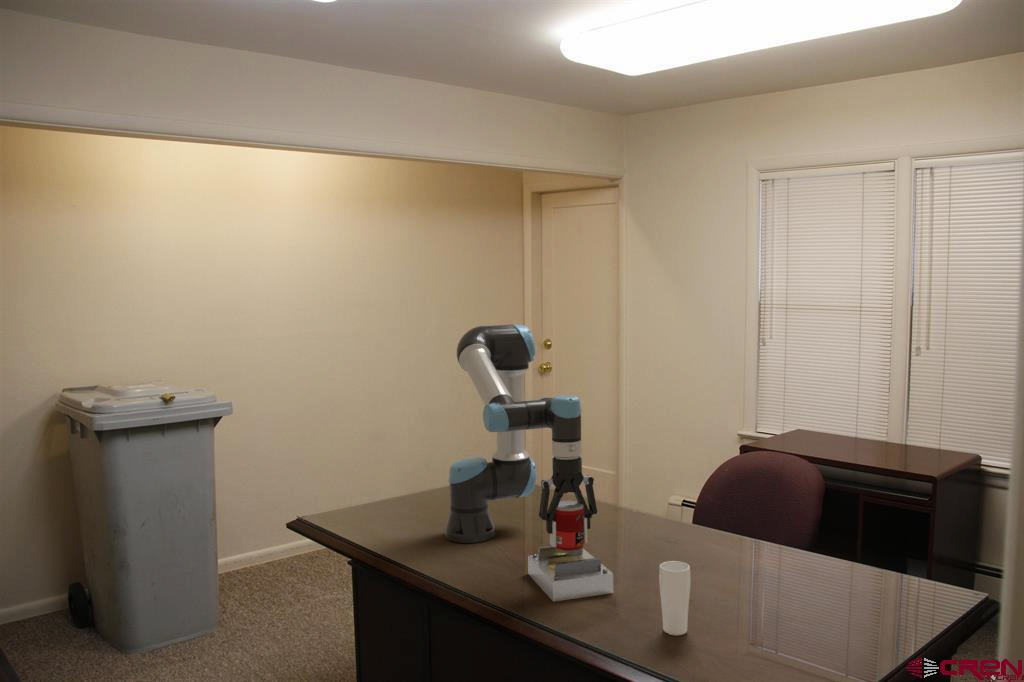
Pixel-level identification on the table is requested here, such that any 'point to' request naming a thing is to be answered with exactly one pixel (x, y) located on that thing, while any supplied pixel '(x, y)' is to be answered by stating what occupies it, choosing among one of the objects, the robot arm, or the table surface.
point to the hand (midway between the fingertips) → (568, 543)
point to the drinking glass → (674, 596)
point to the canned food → (569, 525)
